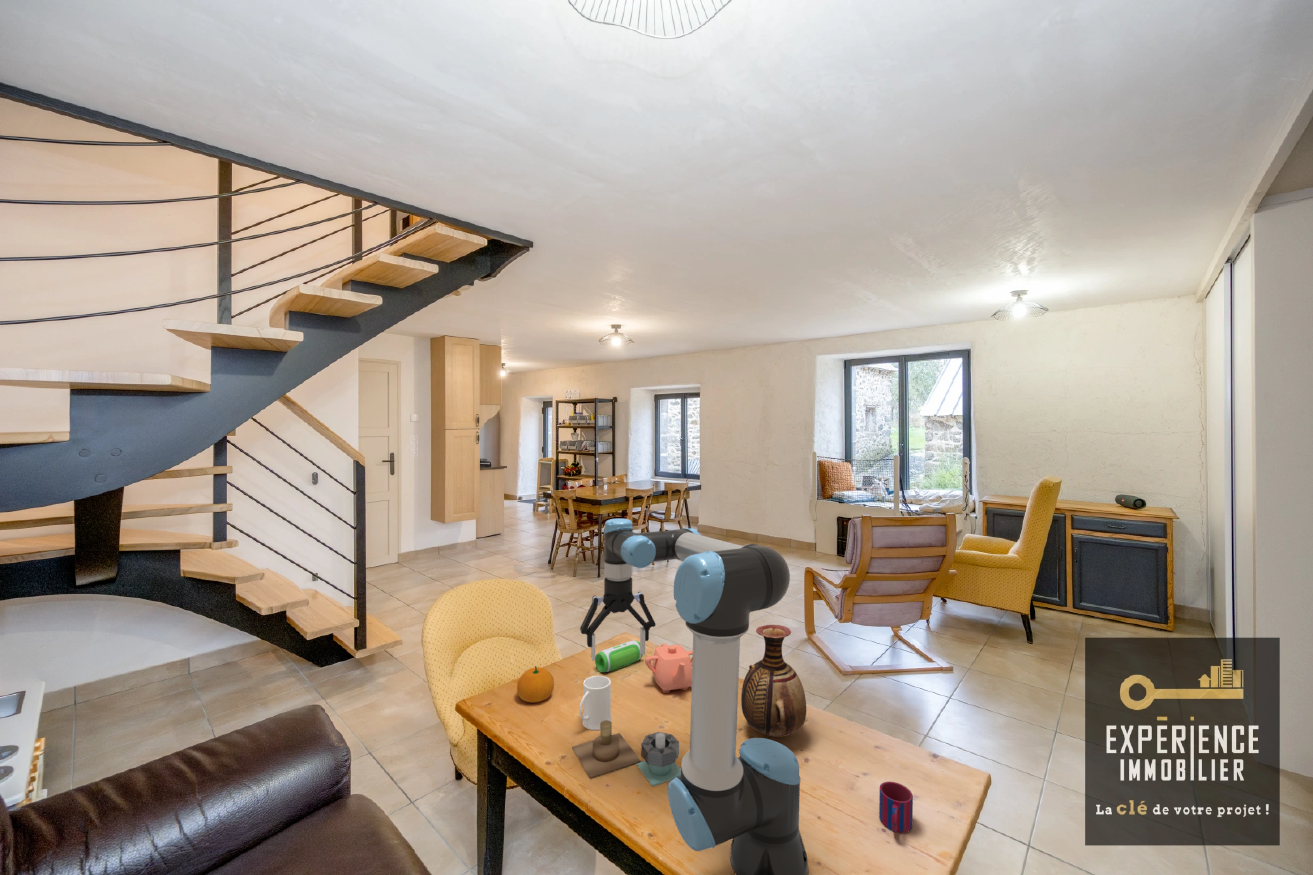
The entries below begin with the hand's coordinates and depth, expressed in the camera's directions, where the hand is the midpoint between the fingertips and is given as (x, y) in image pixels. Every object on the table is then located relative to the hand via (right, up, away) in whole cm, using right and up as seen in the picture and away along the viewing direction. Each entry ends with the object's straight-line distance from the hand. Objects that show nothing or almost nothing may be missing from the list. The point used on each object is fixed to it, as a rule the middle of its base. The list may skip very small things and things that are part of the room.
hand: (618, 655), depth 139 cm
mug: (-8, -26, +13) cm, 30 cm away
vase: (+44, -26, +8) cm, 51 cm away
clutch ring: (+11, -22, -7) cm, 26 cm away
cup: (+63, -27, -26) cm, 73 cm away
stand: (+11, -26, -7) cm, 29 cm away
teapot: (+16, -26, +36) cm, 47 cm away
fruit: (-29, -26, +28) cm, 48 cm away
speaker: (-3, -25, +50) cm, 56 cm away
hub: (-3, -26, -1) cm, 26 cm away
